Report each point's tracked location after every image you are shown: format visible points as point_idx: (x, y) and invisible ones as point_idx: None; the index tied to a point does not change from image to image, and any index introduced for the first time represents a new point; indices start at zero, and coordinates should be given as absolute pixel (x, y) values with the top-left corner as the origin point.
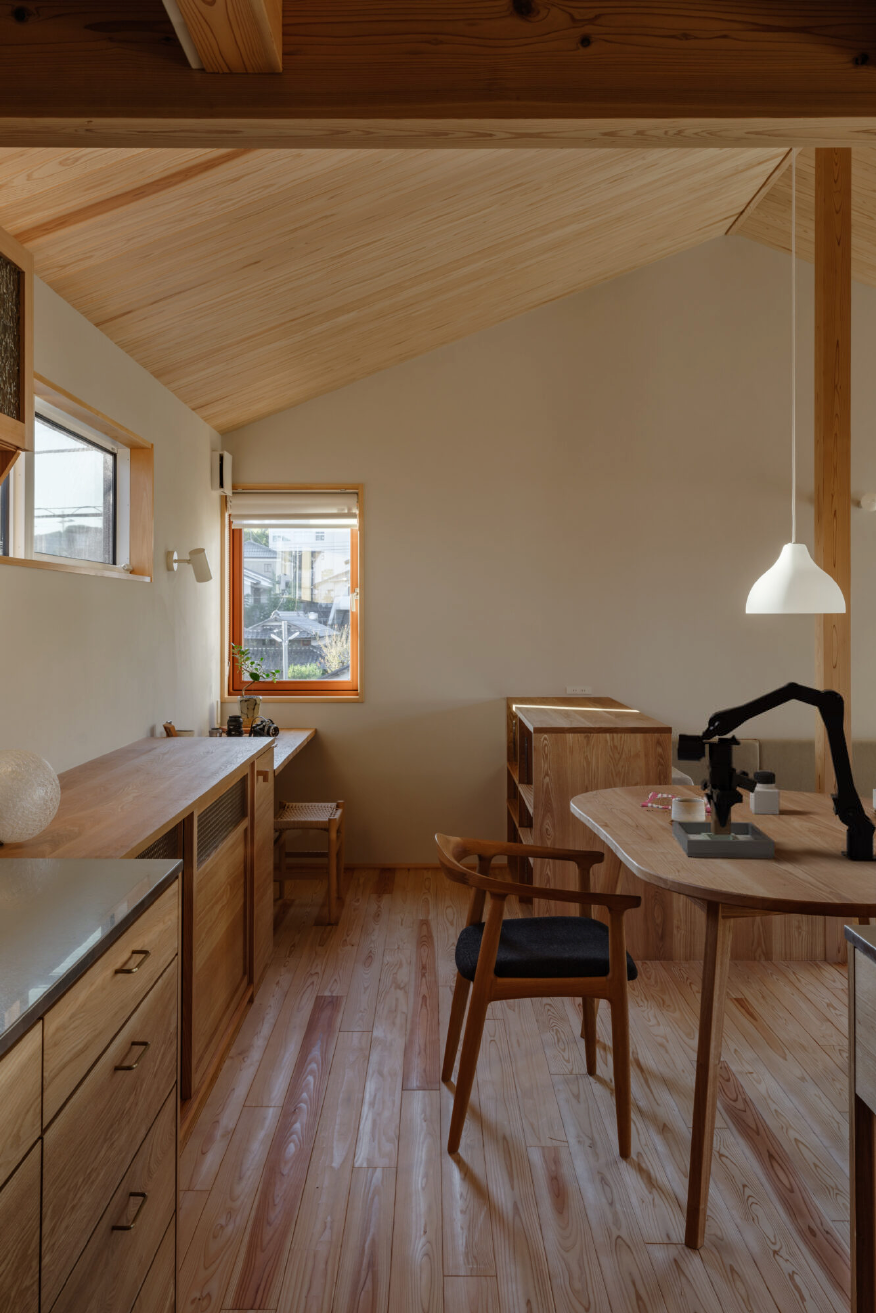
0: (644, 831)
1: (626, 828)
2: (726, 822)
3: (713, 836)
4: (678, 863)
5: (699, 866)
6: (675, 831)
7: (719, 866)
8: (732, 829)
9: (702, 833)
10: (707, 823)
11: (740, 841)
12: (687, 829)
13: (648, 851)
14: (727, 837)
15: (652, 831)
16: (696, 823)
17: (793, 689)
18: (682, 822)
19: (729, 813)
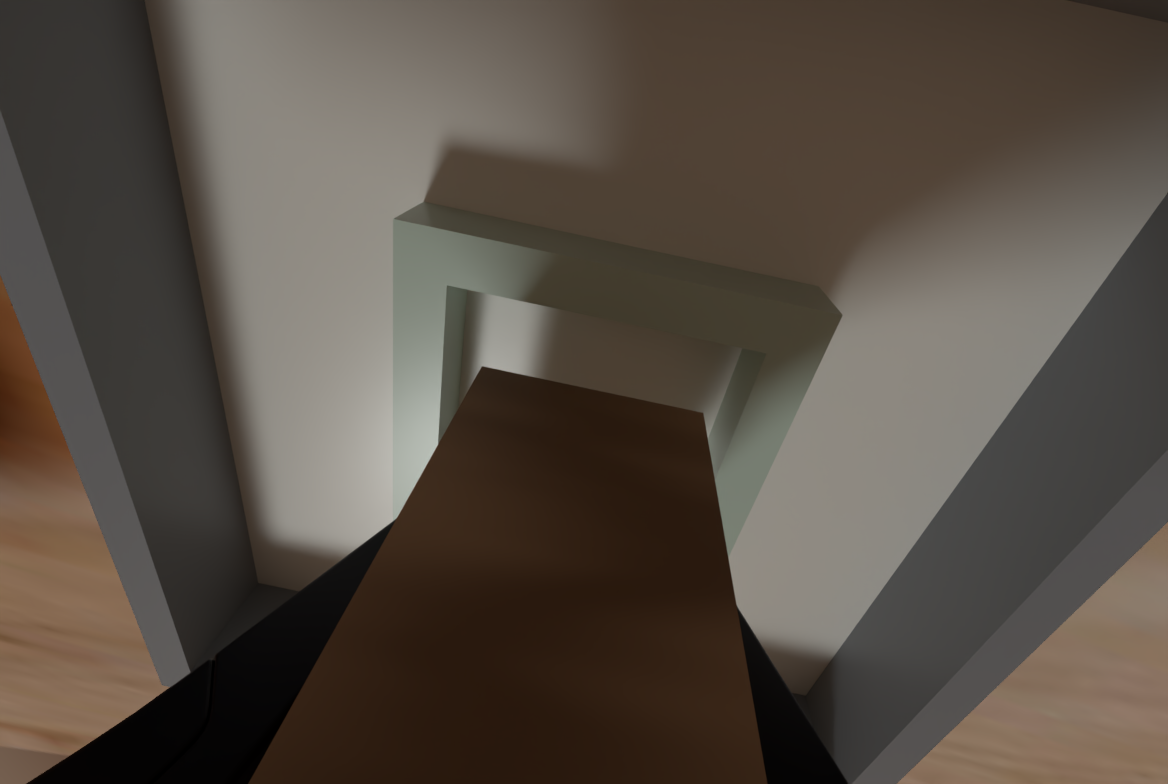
0: (138, 649)
1: (90, 692)
2: (747, 626)
3: None
4: (928, 762)
5: (1056, 714)
6: None
7: (1144, 632)
8: (103, 94)
9: None
10: (126, 446)
11: (1164, 510)
12: (220, 554)
13: None
14: (460, 304)
15: (122, 616)
16: (157, 540)
17: None
18: (180, 641)
19: (737, 741)
